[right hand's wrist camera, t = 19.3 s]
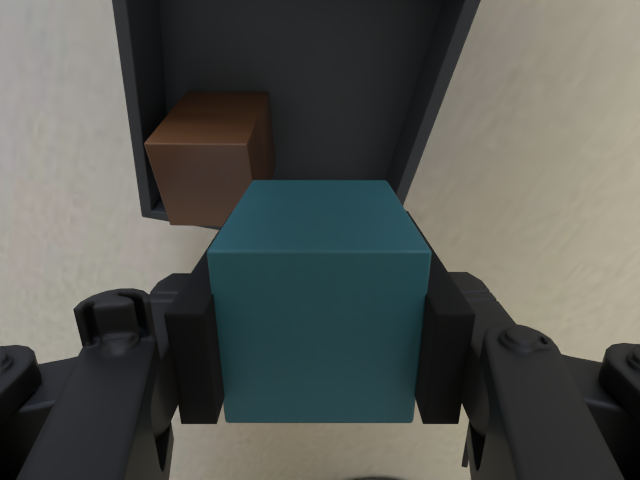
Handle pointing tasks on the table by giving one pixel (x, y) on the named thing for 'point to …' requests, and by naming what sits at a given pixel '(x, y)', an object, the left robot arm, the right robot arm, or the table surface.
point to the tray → (298, 77)
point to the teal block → (319, 303)
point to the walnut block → (211, 154)
